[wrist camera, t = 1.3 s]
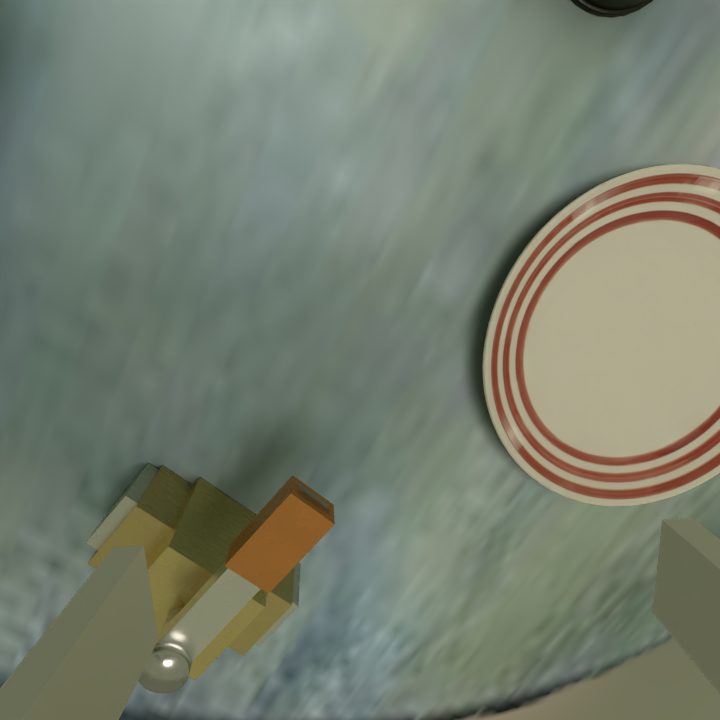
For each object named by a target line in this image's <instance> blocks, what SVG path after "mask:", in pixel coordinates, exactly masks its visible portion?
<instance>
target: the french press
mask: <svg viewBox="0 0 720 720" xmlns="http://www.w3.org/2000/svg"><path fill="white" fill-rule="evenodd" d="M572 1H573V2H574V3H575V4H576V5H578V6H579V7H581V8H582V9H584V10H585V11H587V12H590V13H593V14H595V15H598V16H607V17H615V16H622V15H627V14H629V13H632V12H635V11H637V10H639V9H641V8H642V7H644V6H645V5H647V4H649V3H650V2H652V1H653V0H572Z"/></svg>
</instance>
